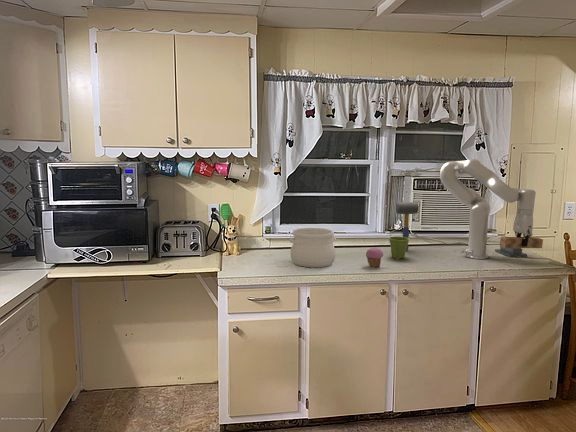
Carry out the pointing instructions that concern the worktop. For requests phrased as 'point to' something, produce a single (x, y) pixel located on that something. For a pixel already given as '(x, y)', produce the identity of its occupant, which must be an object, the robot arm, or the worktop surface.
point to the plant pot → (398, 246)
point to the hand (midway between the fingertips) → (521, 244)
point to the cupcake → (374, 256)
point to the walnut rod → (520, 242)
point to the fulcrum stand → (511, 252)
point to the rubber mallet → (406, 214)
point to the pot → (313, 247)
